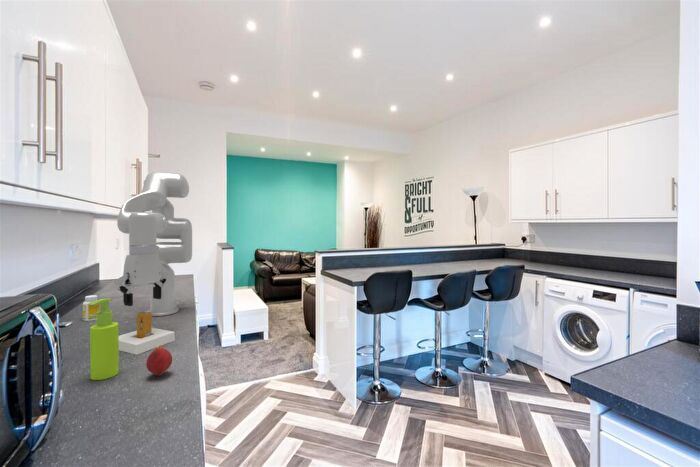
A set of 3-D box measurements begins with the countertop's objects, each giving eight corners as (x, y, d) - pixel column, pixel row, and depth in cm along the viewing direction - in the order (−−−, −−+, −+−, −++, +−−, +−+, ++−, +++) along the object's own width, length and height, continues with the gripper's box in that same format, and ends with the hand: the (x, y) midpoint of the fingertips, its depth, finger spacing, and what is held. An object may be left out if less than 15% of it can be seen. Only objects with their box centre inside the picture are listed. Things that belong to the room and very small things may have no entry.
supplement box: (152, 341, 108) (152, 311, 107) (145, 344, 104) (145, 314, 104) (143, 340, 108) (143, 311, 108) (135, 344, 104) (135, 313, 104)
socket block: (148, 335, 114) (148, 326, 114) (174, 340, 109) (174, 331, 109) (109, 348, 102) (109, 338, 102) (136, 354, 97) (136, 344, 97)
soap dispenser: (80, 381, 80) (79, 302, 80) (105, 369, 87) (104, 296, 87) (101, 383, 79) (100, 303, 79) (124, 370, 86) (124, 297, 86)
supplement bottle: (79, 321, 129) (79, 297, 129) (88, 317, 134) (88, 294, 134) (94, 321, 130) (94, 297, 130) (102, 317, 135) (102, 294, 135)
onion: (160, 381, 80) (160, 350, 80) (140, 379, 82) (140, 348, 81) (177, 371, 86) (177, 342, 86) (158, 369, 87) (158, 340, 87)
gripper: (159, 247, 114) (159, 295, 115) (107, 251, 98) (107, 307, 99) (174, 248, 111) (174, 297, 112) (123, 253, 95) (123, 310, 96)
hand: (143, 301), depth 106 cm, fingers open, 9 cm apart
